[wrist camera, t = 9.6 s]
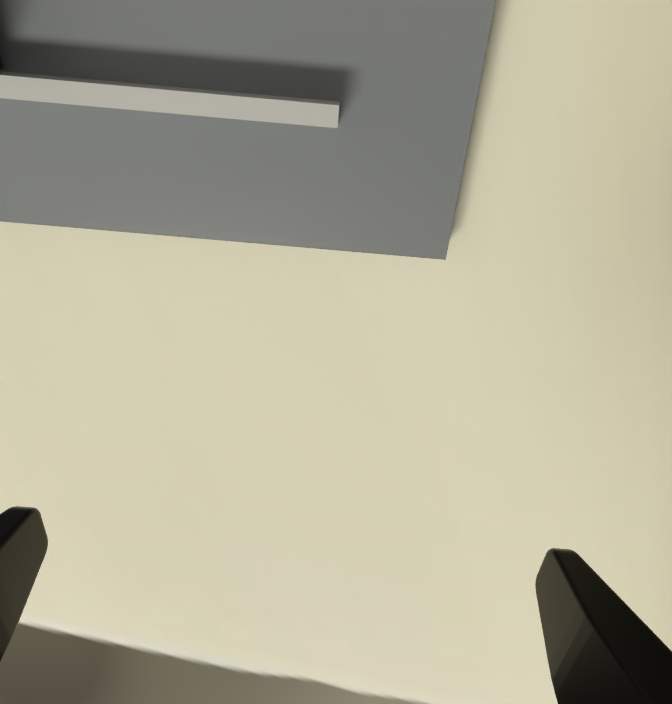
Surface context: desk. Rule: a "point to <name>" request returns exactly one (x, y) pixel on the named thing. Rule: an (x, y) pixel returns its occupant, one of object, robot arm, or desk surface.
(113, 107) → the board
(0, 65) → the grey block
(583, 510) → the desk surface
